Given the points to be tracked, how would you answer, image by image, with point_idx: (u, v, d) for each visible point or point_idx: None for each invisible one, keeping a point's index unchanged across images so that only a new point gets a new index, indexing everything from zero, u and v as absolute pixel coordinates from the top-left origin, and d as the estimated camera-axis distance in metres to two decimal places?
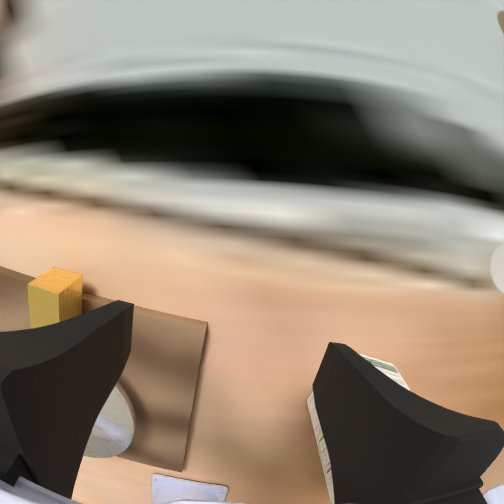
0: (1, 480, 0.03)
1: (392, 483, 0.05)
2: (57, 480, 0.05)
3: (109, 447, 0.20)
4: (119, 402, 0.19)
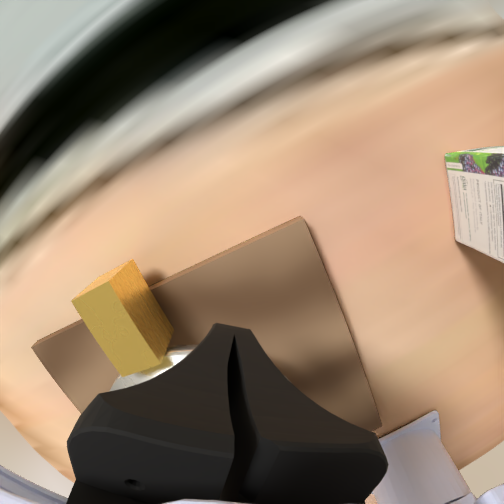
0: None
1: (235, 484, 0.05)
2: None
3: None
4: None
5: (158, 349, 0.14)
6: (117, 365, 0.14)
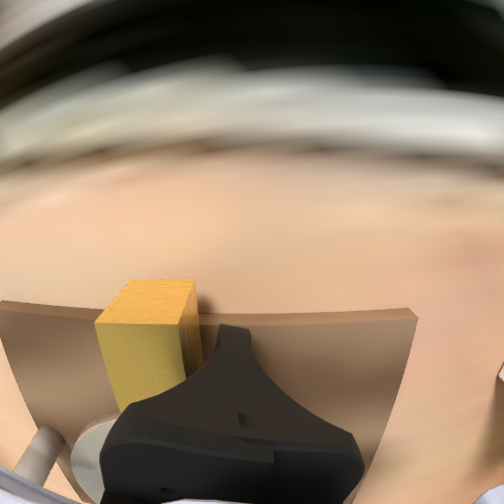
0: None
1: None
2: None
3: None
4: None
5: None
6: None
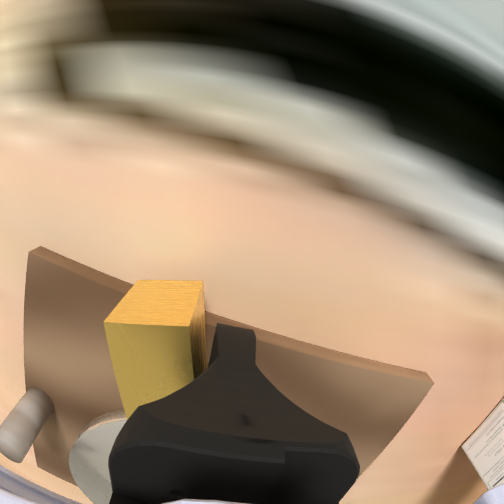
0: None
1: None
2: None
3: None
4: None
5: None
6: None
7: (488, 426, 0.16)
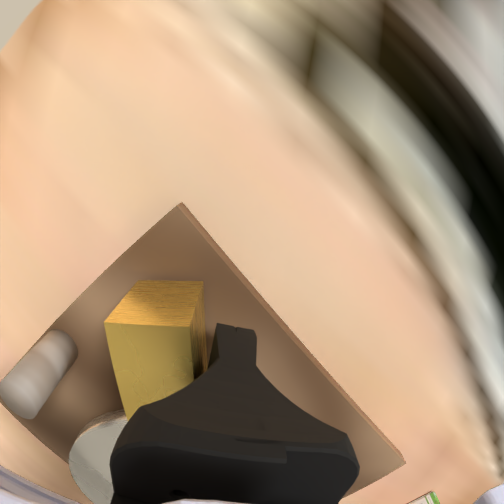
0: None
1: None
2: None
3: None
4: None
5: None
6: None
7: None
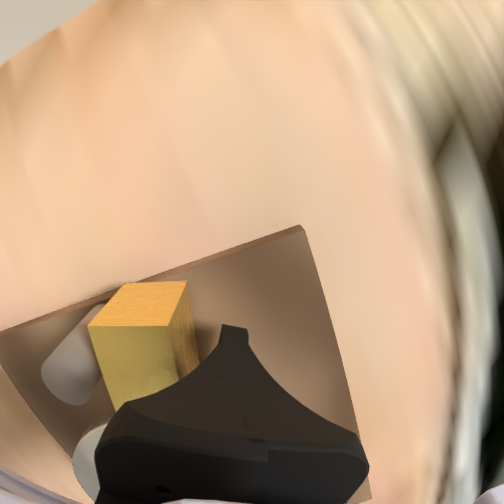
0: None
1: None
2: None
3: None
4: None
5: None
6: None
7: None
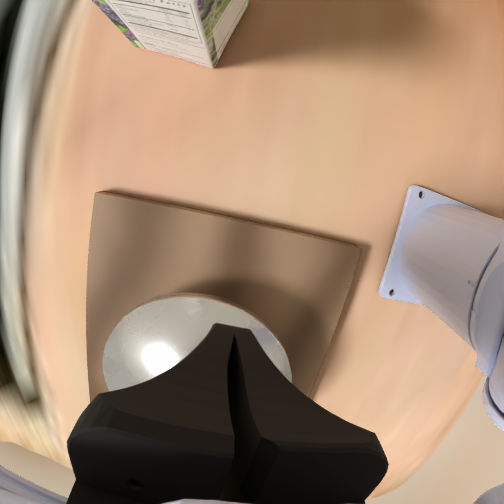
0: None
1: (235, 484, 0.05)
2: None
3: (152, 320, 0.17)
4: (109, 380, 0.18)
5: None
6: None
7: (172, 54, 0.16)
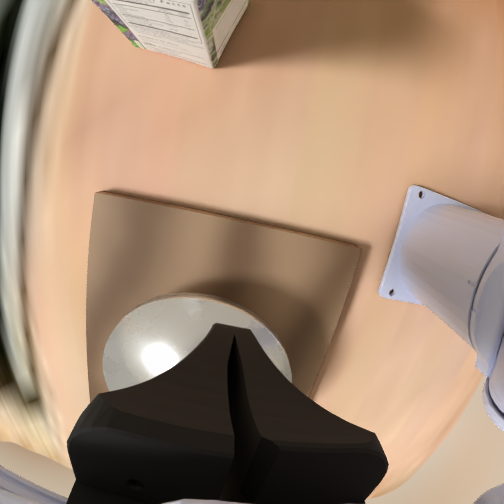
0: None
1: (235, 484, 0.05)
2: None
3: (152, 320, 0.17)
4: (109, 380, 0.18)
5: None
6: None
7: (172, 54, 0.16)
